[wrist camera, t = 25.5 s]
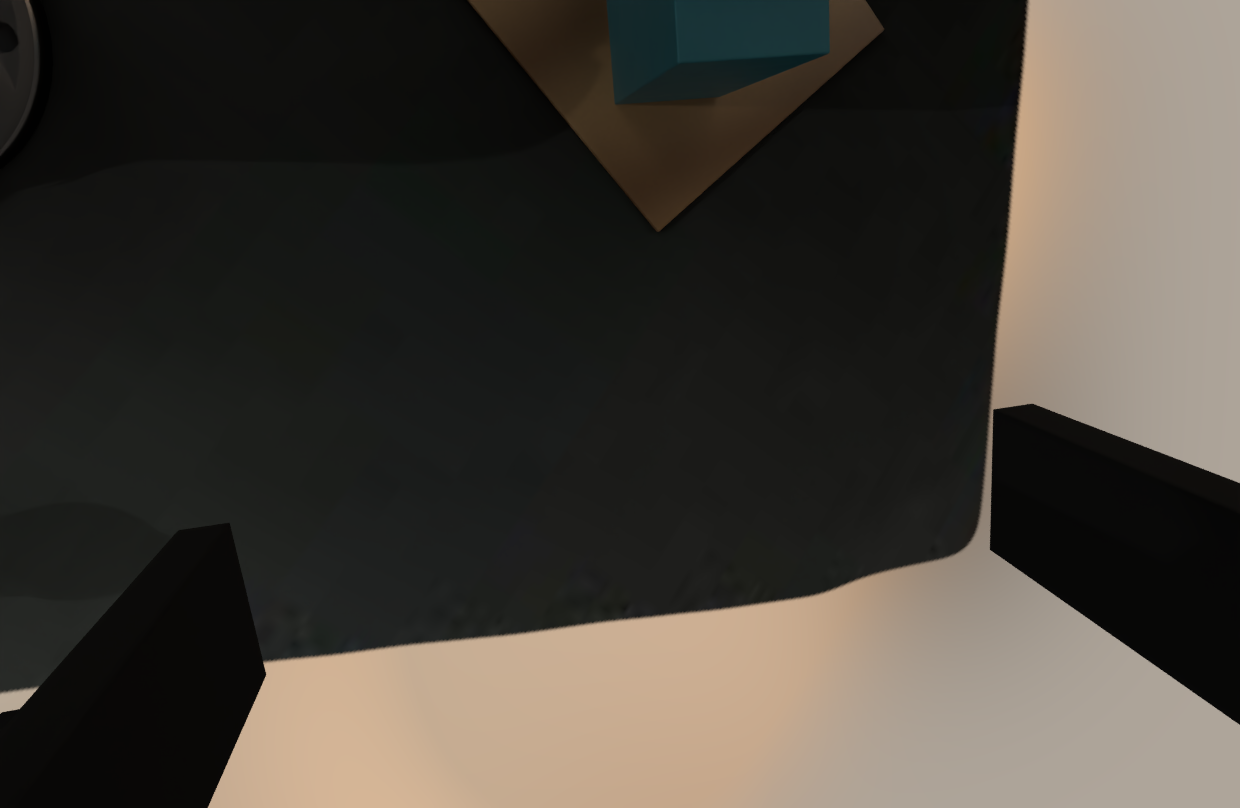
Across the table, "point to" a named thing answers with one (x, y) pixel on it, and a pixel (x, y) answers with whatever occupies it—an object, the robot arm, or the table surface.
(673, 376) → the table surface
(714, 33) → the teal box
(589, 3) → the cork mat
